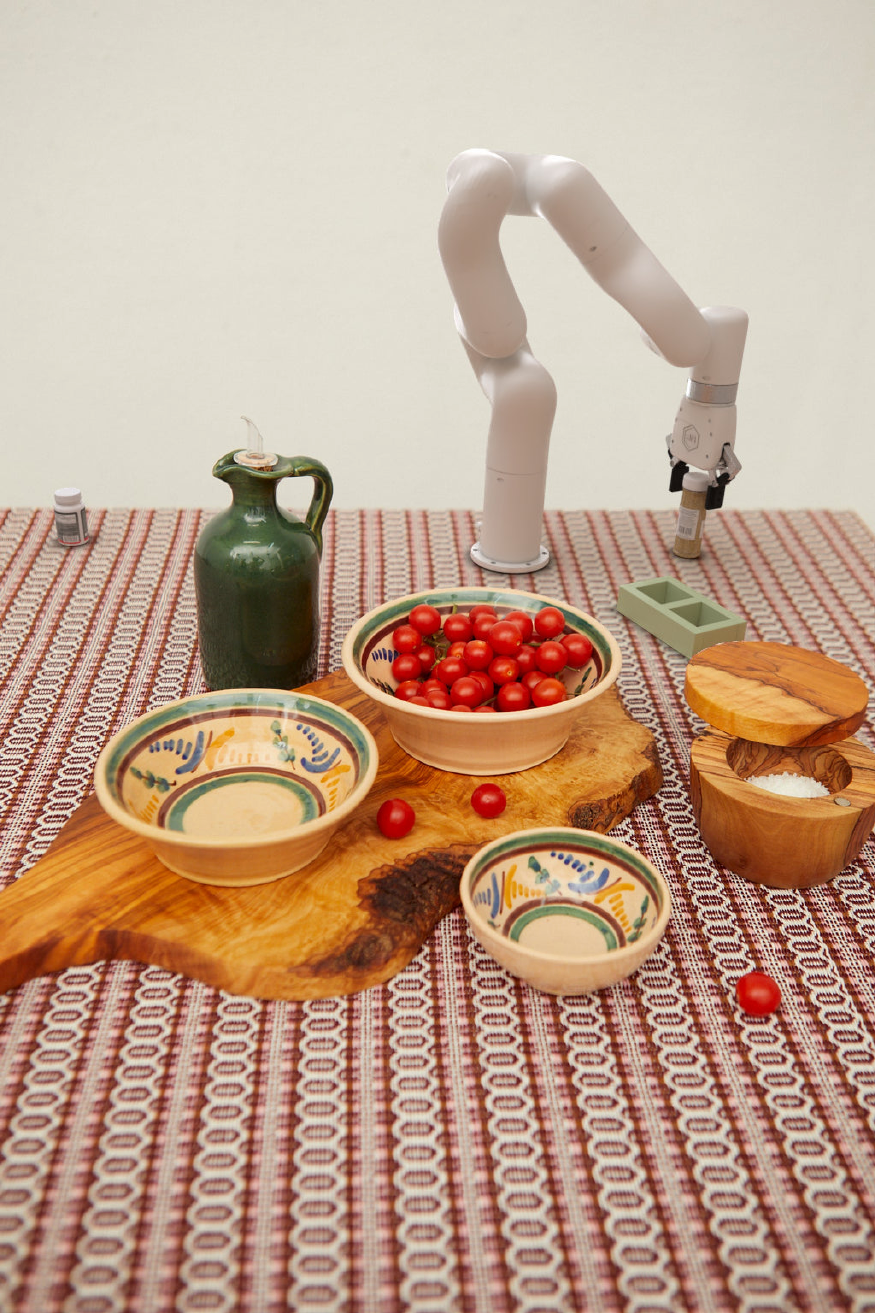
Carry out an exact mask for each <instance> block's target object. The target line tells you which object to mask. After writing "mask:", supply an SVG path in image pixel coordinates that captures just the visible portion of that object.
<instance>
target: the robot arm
mask: <svg viewBox="0 0 875 1313" xmlns="http://www.w3.org/2000/svg"><path fill="white" fill-rule="evenodd" d="M445 190H446V193H447V197H446V199H445V201H444V204H443V205H442V208H441V211H440V214H439V219H438V223H437V228H436V248H437V253H438V259H439V261H440V265H441V267H442V271H443V274H444V277H445V279H446V282H447V285H448V287H449V288H448V289H449V290H450V293H451V296H452V299H453V301H454V306H453V321H454V325H455V328H456V331H457V334H458V336H459V339H460V342H461V343H462V347H463V348H464V352H465V353H466V356H467V359H468V361H469V364H470V366H471V369H472V371H473V373H474V375H475V378H476V380H477V383H478V385H479V387H480V389H481V391H482V394H484V396H485V398H486V399H487V401H488V402H489V404H490V408H491V410H490V420H489V426H488V432H487V438H486V449H485V471H484V472H485V473H484V486H483V503H482V520H481V521H477V522H476V523H475V525H474V528H475V529H476V530H477V531H478V532H480V533H479V541H476V542H475V543H474V544H472V546H471V548H470V560H472V562H473V563H475V564H476V565H478V566H480V567H481V568H484V569H486V570H489V571H493V572H498V573H505V574H526V573H533V572H535V571H539V570H541V569H543V568H545V566H547V565H548V564H549V561H550V551H549V550H548V548H546V547H545V546H544V545H543V544H542V531H543V521H544V511H545V499H546V498H545V497H546V487H547V478H548V462H549V454H550V453H549V452H550V444H551V436H552V430H553V426H554V422H555V418H556V412H557V407H558V392H557V387H556V384H555V382H554V379H553V377H552V375H551V373H550V372H549V371H548V370H547V368H546V367H545V366H544V365H543V364H542V363H541V362H540V361H539V360H538V359H537V358H536V357H535V355H534V353H533V351H532V348H531V346H530V343H529V340H528V337H527V333H528V319H527V314H526V312H525V309H524V306H523V305H522V303H521V300H520V298H519V296H518V294H517V290H516V288H515V286H514V283H513V281H512V278H511V275H510V273H509V271H508V267H507V265H506V260H505V258H504V255H503V252H502V248H501V244H500V231H501V226H502V224H503V221H504V219H505V218H506V216H513V217H528V218H529V217H531V218H542V219H544V221H546V222H547V224H548V225H549V226H550V227H551V229H552V230H553V232H555V234H556V235H557V237H559V239H560V241H561V242H562V243H563V244H564V245H565V246H566V248H567V249H568V250H569V252H570V253H571V254H572V256H573V257H574V258H575V259H576V261H577V262H578V263H579V265H580V266H581V267H582V268H583V270H584V271H585V272H586V274H587V275H588V276H589V277H590V279H591V280H592V281H593V282H594V283H595V284H596V285H597V286H598V287H599V288H600V289H601V290H602V291H603V292H604V293H605V294H606V295H607V296H609V297H610V298H611V299H613V300H614V301H615V302H617V303H618V304H619V305H620V306H621V307H622V308H623V309H624V310H625V311H626V312H627V313H628V314H629V315H630V316H631V317H632V318H633V319H634V320H635V321H636V322H637V324H638V325H639V336H640V338H641V341H642V342H643V344H644V345H645V347H647V348H648V350H650V351H651V352H652V353H654V354H655V355H657V357H660V358H661V359H663V360H664V361H665V362H666V363H667V364H669V365H671V366H673V367H675V368H681V369H685V368H686V369H687V368H689V369H688V370H689V371H688V377H687V379H686V383H687V384H686V385H687V387H686V392H685V393H684V394H683V395H682V397H681V399H680V402H679V404H678V408H677V411H676V414H675V418H674V423H673V427H672V432H671V433H669V434H667V435H666V436H665V437H664V438H665V443H666V447H667V455H668V458H669V459H670V460H669V466H670V467H671V471H670V480H669V487H668V491H669V492H670V493H677V492H682V491H683V486H682V484H683V477H684V475H685V474H686V473H689V472H690V466H692V467H694V468H696V469H699V470H701V471H705V472H706V471H707V474H708V475H709V477H710V481H711V485H708V487H707V493H706V500H705V506H704V508H705V509H706V511H713V510H718V509H722V508H723V505H724V504H723V503H724V499H725V492H726V487H727V486H729V485H730V483H731V482H732V481H733V480H735V478H736V476H737V475H738V474H739V473H740V471H742V468H743V466H742V464H741V462H740V460H739V459H738V458H737V456H736V454H735V452H734V451H735V444H736V436H737V421H738V420H737V419H738V418H737V417H738V416H737V415H738V411H737V405H736V400H737V397H738V396H737V394H738V388H739V382H740V377H741V370H742V365H743V364H742V363H743V360H744V352H745V346H746V342H747V335H748V329H749V322H750V321H749V320H750V319H749V315H748V313H747V312H746V311H745V310H743V309H741V308H739V307H734V306H728V305H710V306H706V307H702V306H696V305H695V304H694V302H693V301H692V300H691V298H690V297H689V295H688V294H687V292H685V291H684V289H683V287H682V286H681V285H680V284H679V283H678V282H677V280H676V279H675V278H674V277H673V276H672V274H671V273H670V272H669V271H668V270H667V269H666V268H665V267H664V265H663V264H662V263H661V261H660V260H659V259H658V258H657V256H656V255H655V254H654V253H653V250H651V248H650V247H649V246H648V245H647V244H646V243H645V242H644V241H643V239H642V238H641V237H640V236H639V234H638V233H637V232H636V230H635V229H634V228H633V226H632V225H631V224H630V223H629V222H628V220H627V219H626V217H625V216H624V215H623V213H622V212H621V210H620V209H619V208H618V206H617V205H616V203H614V201H613V200H612V198H611V197H610V195H609V194H608V193H607V192H606V189H604V187H603V186H602V185H601V183H600V182H599V181H598V179H597V178H596V177H595V175H594V174H593V173H592V172H591V171H590V170H589V169H588V168H587V167H586V165H584V164H583V163H581V162H580V161H577V160H575V159H572V158H569V157H565V156H561V155H554V154H539V153H537V154H536V153H526V152H525V153H523V152H515V151H506V150H497V149H488V148H479V147H478V148H477V147H476V148H475V147H474V148H470V149H466V150H464V151H462V152H459V153H458V154H457V155H456V156H455V157H454V158H453V159H452V160H451V161H450V164H449V165H448V167H447V170H446V173H445ZM688 465H690V466H688ZM717 471H718V472H719V476H718V473H717Z"/></svg>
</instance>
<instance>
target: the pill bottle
mask: <svg viewBox="0 0 875 1313" xmlns="http://www.w3.org/2000/svg"><path fill="white" fill-rule="evenodd" d="M53 495H54V496H53V497H54V501H55V502H54V504H53V513H54V520H55V527H56V534H57V540H58V543H59V544H60V545H62V546H65V547H78V546H81V545H85V544H86V543H87V542H89V540H90V535H89V527H88V519H87V510H86V505H85V502H84V501H83V500H82V498H83V496H82V491H81V489H79V488H77V487H62V488H58V489H56V490H54V492H53Z"/></svg>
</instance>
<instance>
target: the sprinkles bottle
mask: <svg viewBox="0 0 875 1313" xmlns="http://www.w3.org/2000/svg"><path fill="white" fill-rule="evenodd" d="M708 485H711V481H710V477H709V473H705V472H699V471H689V473H686V474H685V475H684V477H683V484H682V486H683V491H681V492H682V493H681V498H680V503H679V507H678V516H677V521H676V522H677V523H676V528H675V539H674V545H673V548H672V552H673V554H674V555H676V556H678V557H680V558H684V559H694V558H699V557H700V556H701V553H702V552H701V548H702V542H703V536H704V531H705V525H706V519H707V510H706V509H705V508H704V506H705V500H706V493H707V487H708Z"/></svg>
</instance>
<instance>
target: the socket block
mask: <svg viewBox="0 0 875 1313" xmlns="http://www.w3.org/2000/svg"><path fill="white" fill-rule="evenodd" d="M617 594H618V595H617V603H616V611H617V612H618V613H620V614H621V615H623V616H624V617H625V618H627V619H629V621H632V622H633V623H635V624H636V625H638V626H639V627H641V629H643V630H645V631H647V633H649V634H651V635H653V636H654V637H655V638H657V639H658V640H660V641H661V642H663V643H664V644H666V645H668V646H669V647H671V648H672V649H673V650H675V651H676V652H677V653H679V654H681V655H682V656H684V657H685V658H687V659H688V660H690V658H691V657H692V656H693V655H694V654H697V653H698V652H700V651H701V650H703V649H705V648H708V647H711V646H713V645H714V644H718V643H722V642H731V641H742V640H744V641H745V637H746V632H747V626H748V621H747V620H746V619H744V618H742V617H740V616H739V615H737V614H736V613H734V612H732V611H731V610H729V609H728V608H725V607H724V606H723V605H721V604H719V603H717V602H716V601H714V600H712V599H710V598H709V597H707V596H706V595H704V594H702V593H700V592H698V591H697V590H695V589H693V588H692V587H690V586H688V585H687V584H685V583H683V582H682V581H680V580H678V579H677V578H675V577H673V576H672V575H670V574H668V575H664V576H663V575H662V576H657V577H653V578H649V579H644V580H639V581H634V582H630V583H624V584H620V585H619V586H618V593H617Z"/></svg>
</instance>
